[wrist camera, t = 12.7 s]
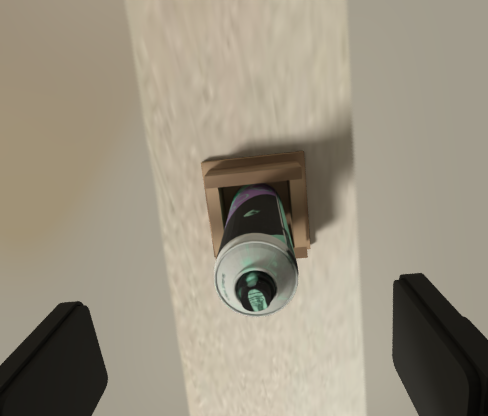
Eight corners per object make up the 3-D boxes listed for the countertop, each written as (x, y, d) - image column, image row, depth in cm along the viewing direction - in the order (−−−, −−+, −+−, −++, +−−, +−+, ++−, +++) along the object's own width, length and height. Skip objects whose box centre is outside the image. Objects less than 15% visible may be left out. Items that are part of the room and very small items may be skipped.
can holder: (202, 161, 39) (194, 169, 34) (302, 150, 38) (309, 157, 33) (215, 253, 42) (210, 273, 37) (309, 245, 41) (315, 263, 36)
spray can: (255, 170, 38) (252, 235, 19) (292, 204, 39) (325, 298, 20) (221, 207, 39) (187, 302, 20) (258, 238, 40) (258, 359, 21)
